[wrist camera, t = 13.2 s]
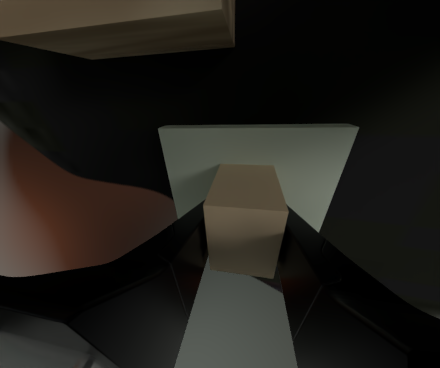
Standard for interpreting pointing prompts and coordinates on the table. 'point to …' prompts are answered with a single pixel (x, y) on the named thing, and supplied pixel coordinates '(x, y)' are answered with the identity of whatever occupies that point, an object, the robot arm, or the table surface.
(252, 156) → the plate with block handle
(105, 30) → the toolbox
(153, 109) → the table surface
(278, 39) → the table surface
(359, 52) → the table surface
